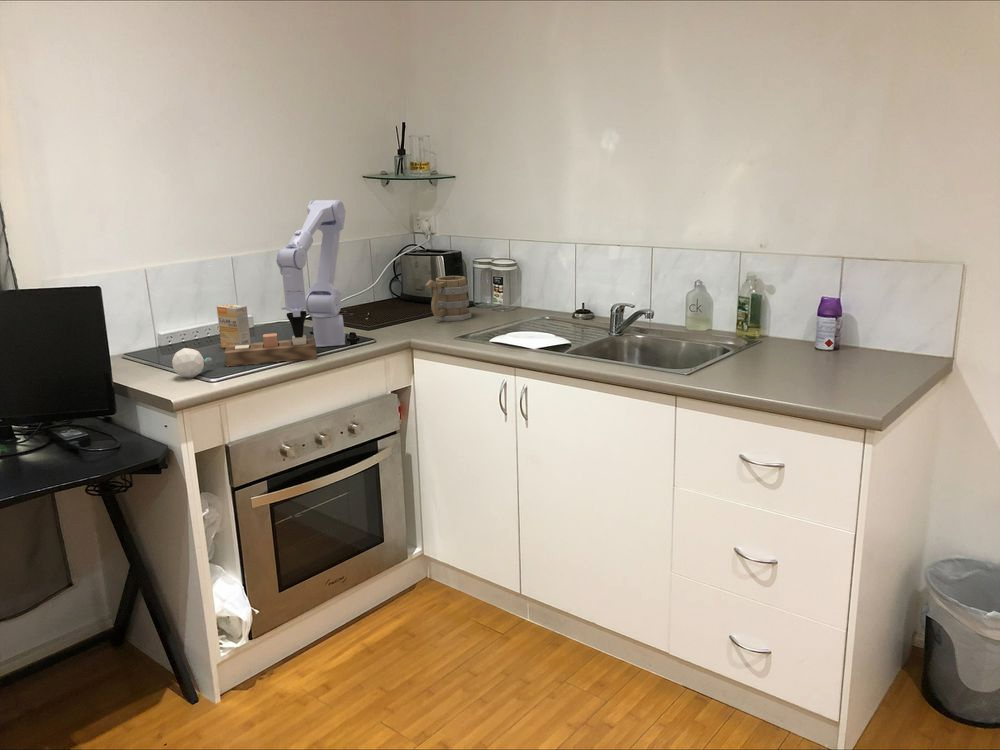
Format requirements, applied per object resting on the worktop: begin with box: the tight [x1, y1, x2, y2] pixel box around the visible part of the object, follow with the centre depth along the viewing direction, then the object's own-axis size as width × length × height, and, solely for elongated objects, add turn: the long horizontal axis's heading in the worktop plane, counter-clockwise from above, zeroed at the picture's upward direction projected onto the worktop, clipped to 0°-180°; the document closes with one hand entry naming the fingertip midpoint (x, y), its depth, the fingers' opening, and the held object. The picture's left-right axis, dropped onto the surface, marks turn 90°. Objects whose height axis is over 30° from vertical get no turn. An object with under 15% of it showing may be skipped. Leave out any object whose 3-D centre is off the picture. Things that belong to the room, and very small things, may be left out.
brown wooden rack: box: [224, 337, 318, 368], centre depth 233 cm, size 25×10×4 cm, turn 104°
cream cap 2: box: [291, 334, 307, 345], centre depth 235 cm, size 4×4×4 cm
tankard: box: [425, 275, 472, 322], centre depth 279 cm, size 20×13×15 cm, turn 144°
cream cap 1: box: [235, 345, 250, 350], centre depth 231 cm, size 4×4×4 cm
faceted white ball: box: [171, 347, 213, 379], centre depth 218 cm, size 8×8×12 cm
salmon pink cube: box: [262, 332, 279, 348], centre depth 233 cm, size 4×4×4 cm
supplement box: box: [216, 303, 251, 349], centre depth 247 cm, size 8×5×13 cm, turn 62°
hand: (298, 337), depth 234 cm, fingers closed, pressing on cream cap 2
